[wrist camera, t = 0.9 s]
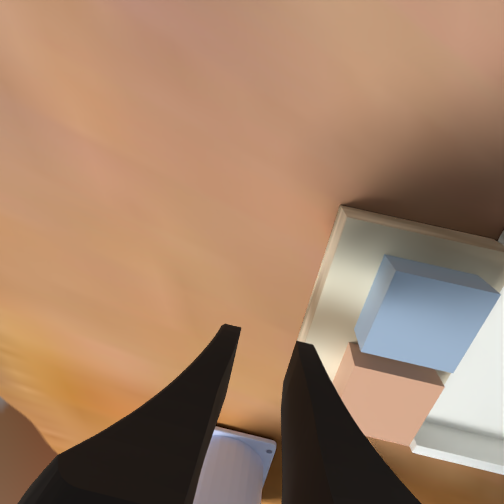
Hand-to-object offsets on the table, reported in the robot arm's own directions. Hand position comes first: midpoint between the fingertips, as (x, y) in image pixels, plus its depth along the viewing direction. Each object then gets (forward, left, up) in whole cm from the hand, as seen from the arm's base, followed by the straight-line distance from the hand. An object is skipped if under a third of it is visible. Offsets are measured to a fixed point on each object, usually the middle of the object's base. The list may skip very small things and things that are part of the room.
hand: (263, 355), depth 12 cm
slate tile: (0, -8, -7) cm, 11 cm away
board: (-3, -8, -9) cm, 12 cm away
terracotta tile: (-6, -8, -7) cm, 12 cm away
